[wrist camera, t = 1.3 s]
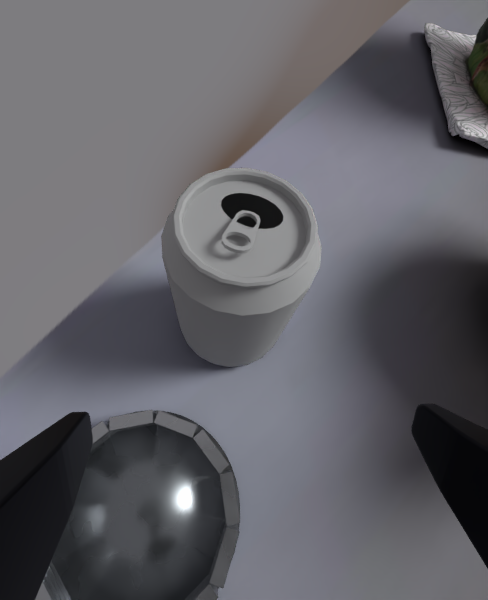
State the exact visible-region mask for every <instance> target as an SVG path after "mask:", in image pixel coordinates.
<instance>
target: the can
mask: <svg viewBox="0 0 488 600" xmlns="http://www.w3.org/2000/svg"><path fill="white" fill-rule="evenodd" d="M317 230H318V225H317V222H316V219H315V215H314V212H313V209H312V207H311V206H310V204H309V203H308V202H307V200H306V199H305V197H304V196H303V194H302V193H301V192H300V191H298V190H297V189H296V188H295V187H293V186H292V185H291V184H290V183H288V182H287V181H286V180H284V179H282V178H279V177H277V176H275V175H273V174H271V173H268V172H265V171H260V170H255V169H250V168H227V169H223V170H219V171H216V172H212V173H209V174H206V175H204V176H203V177H201V178H199V179H198V180H196V181H195V182H193V183H192V184H190V185H189V186H188V187H187V188H186V190H185V191H184V192H183V193H182V195H181V196H180V197H179V198H178V200H177V203H176V206H175V209H174V210H173V211H172V212H171V214H170V215H169V216H168V218H167V221H166V224H165V227H164V230H163V233H162V236H161V237H162V256H163V261H164V265H165V269H166V273H167V277H168V281H169V285H170V289H171V293H172V297H173V301H174V305H175V309H176V313H177V316H178V320H179V324H180V328H181V331H182V333H183V336H184V338H185V340H186V342H187V344H188V345H189V346H190V347H191V348H192V350H193V351H194V352H195V353H196V354H197V355H198V356H200V357H201V358H203V359H205V360H207V361H209V362H210V363H212V364H216V365H221V366H227V367H235V366H243V365H248V364H250V363H252V362H254V361H256V360H259V359H261V358H262V357H263V356H264V355H265V354H266V353H267V352H268V351H269V350H270V349H272V348H273V346H274V345H275V343H276V342H277V340H278V338H279V337H280V335H281V333H282V332H283V330H284V329H285V327H286V325H287V324H288V322H289V320H290V319H291V317H292V316H293V314H294V312H295V311H296V309H297V307H298V306H299V304H300V303H301V301H302V299H303V298H304V296H305V294H306V293H307V291H308V290H309V288H310V286H311V284H312V282H313V280H314V278H315V276H316V274H317V272H318V270H319V268H320V259H321V243H320V239H319V236H318V233H317Z"/></svg>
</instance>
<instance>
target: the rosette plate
mask: <svg viewBox="0 0 488 600" xmlns="http://www.w3.org/2000/svg"><path fill="white" fill-rule="evenodd" d="M92 435H93V443H92V448H91V451H90V455H89V458H88V461H87V465H86V468H85V471H84V475H83V478H82V481H81V484H80V488H79V491H78V494H77V498H76V501H75V504H74V507H73V510H72V512H71V515H70V517H69V520H68V522H67V525H66V527H65V529H64V532H63V534H62V536H61V539H60V541H59V544H58V546H57V548H56V551H55V553H54V556H53V558H52V560H51V563H50V565H49V568H48V570H47V572H46V575H45V577H44V580H43V582H42V584H41V587H40V589H39V591H38V594H37V596H36V599H35V600H216V599H217V598H218V588H219V587H221V588H223V587H224V584H225V580H226V577H227V573H228V570H229V566H230V563H231V560H232V557H233V555H234V551H235V547H236V543H237V539H238V535H239V523H240V503H239V493H238V488H237V483H236V478H235V475H234V473H233V470H232V467H231V464H230V462H229V460H228V458H227V456H226V454H225V453H224V451H223V450H222V448H221V447H220V445H219V444H218V442H217V441H216V440H215V439H214V438H213V437H212V436H211V434H209V433H208V432H207V431H206V430H205V429H204V428H203V427H201V426H200V425H198V424H197V423H195V422H194V421H192V420H190V419H188V418H185V417H183V416H181V415H177V414H174V413H171V412H164V411H153V410H149V411H140V412H134V413H130V414H126V415H122V416H116V417H111V418H109V422H105V421H102V422H100V423H99V424H98V425H96V426H95V427H94V428H92Z"/></svg>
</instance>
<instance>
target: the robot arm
mask: <svg viewBox="0 0 488 600" xmlns="http://www.w3.org/2000/svg"><path fill="white" fill-rule="evenodd" d="M412 435H413V437H414V440H415V442H416V444H417V446H418V448H419V450H420V452H421V454H422V456H423V458H424V460H425V462H426V464H427V466H428V468H429V470H430V472H431V474H432V476H433V478H434V480H435V482H436V484H437V485H438V487H439V489H440V491H441V493H442V494H443V496H444V498H445V500H446V501H447V503H448V504H449V506H450V508H451V509H452V511H453V513H454V514H455V516H456V518H457V519H458V521H459V522H460V524H461V526H462V527H463V529H464V531H465V532H466V534H467V536H468V537H469V539H470V540H471V542H472V544H473V545H474V547H475V549H476V550H477V552H478V554H479V555H480V557H481V558H482V560H483V562H484V563H485V565H486V567H487V568H488V430H487V429H485V428H483V427H480V426H478V425H476V424H474V423H472V422H470V421H468V420H466V419H464V418H462V417H460V416H458V415H456V414H454V413H452V412H450V411H448V410H446V409H444V408H442V407H440V406H437V405H435V404H420V405H418V407H417V409H416V412H415V416H414V420H413V424H412ZM92 443H93V435H92V428H91V421H90V416H89V414H88V413H87V412H72V413H69V414H68V415H66V416H65V417H63V418H62V419H60V420H59V421H57V422H56V423H54V424H53V425H52V426H50V427H49V428H47V429H46V430H44V431H43V432H41V433H40V434H38V435H37V436H35V437H34V438H32V439H31V440H29V441H28V442H27V443H25V444H24V445H22V446H21V447H19V448H18V449H16V450H15V451H13V452H12V453H10V454H9V455H7V456H6V457H4V458H3V459H2V460H0V600H35V599H36V596H37V594H38V591H39V589H40V587H41V584H42V582H43V580H44V577H45V575H46V572H47V570H48V568H49V565H50V563H51V560H52V558H53V556H54V553H55V551H56V548H57V546H58V544H59V541H60V539H61V536H62V534H63V532H64V529H65V527H66V525H67V522H68V520H69V517H70V515H71V512H72V510H73V507H74V504H75V501H76V498H77V494H78V491H79V488H80V484H81V481H82V478H83V475H84V471H85V468H86V465H87V461H88V458H89V455H90V451H91V448H92Z"/></svg>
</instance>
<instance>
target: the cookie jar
mask: <svg viewBox="0 0 488 600" xmlns="http://www.w3.org/2000/svg"><path fill="white" fill-rule="evenodd" d="M424 32H425V39H426V42H427V44H428V46H429V47H430V48H431V57H432V67H433V70H434V74H435V78H436V82H437V86H438V89H439V93H440V96H441V100H442V104H443V108H444V111H445V114H446V118H447V121H448V129H449V133H450V134H451V135H452V136H455V135H458V134H460V137H462V138H465V139H468V140H471V141H474V142H476V143H478V144H480V145H482V146H483V147H485V148H487V149H488V18H487V19H486V21H485V22H484V24H483V25H482V27H481V28H480V29H479V32H478V34H477V35H466V34H461V33H456V32H452V31H448V30H445V29H442V28H441V27H439V26H437V25H435V24H431V23H426V24H425V27H424Z"/></svg>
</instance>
